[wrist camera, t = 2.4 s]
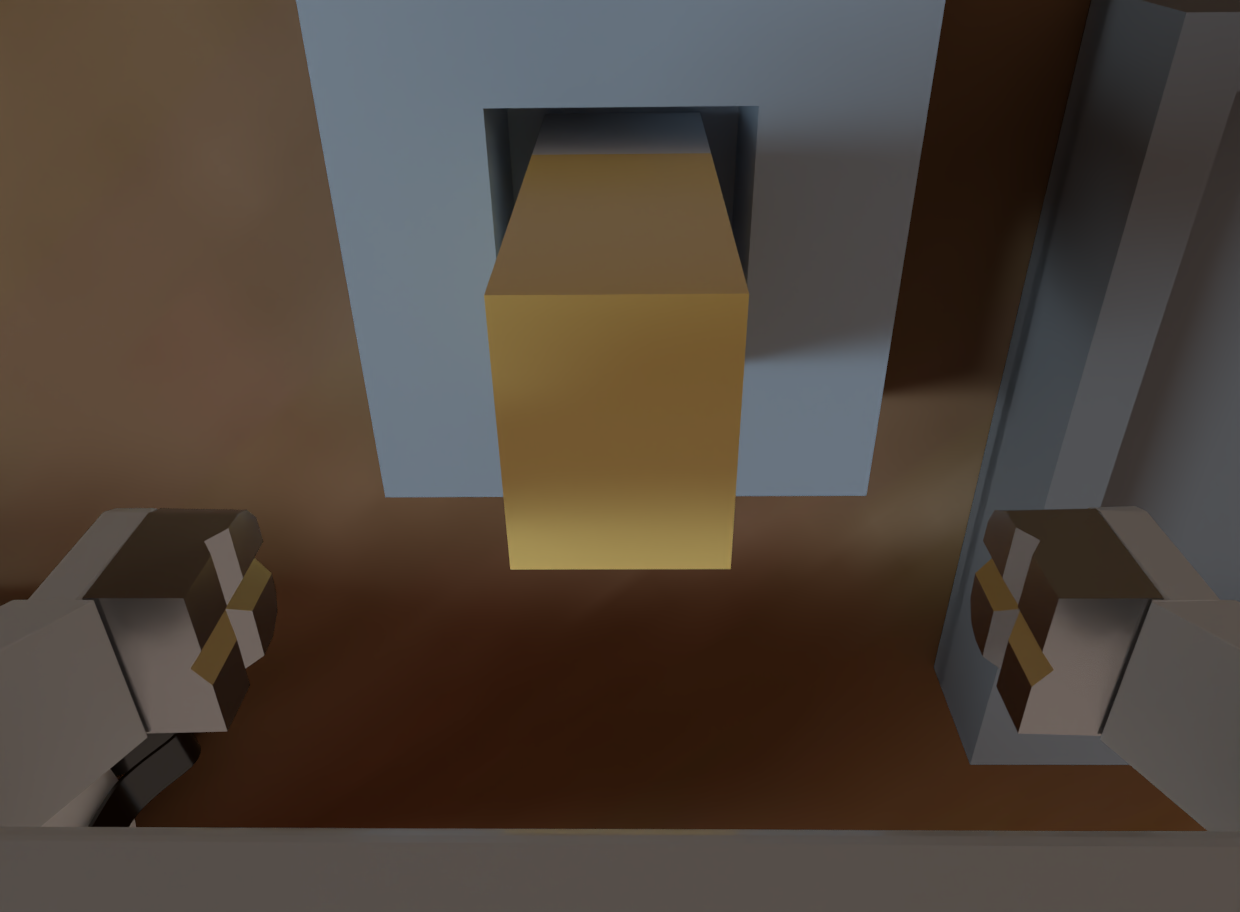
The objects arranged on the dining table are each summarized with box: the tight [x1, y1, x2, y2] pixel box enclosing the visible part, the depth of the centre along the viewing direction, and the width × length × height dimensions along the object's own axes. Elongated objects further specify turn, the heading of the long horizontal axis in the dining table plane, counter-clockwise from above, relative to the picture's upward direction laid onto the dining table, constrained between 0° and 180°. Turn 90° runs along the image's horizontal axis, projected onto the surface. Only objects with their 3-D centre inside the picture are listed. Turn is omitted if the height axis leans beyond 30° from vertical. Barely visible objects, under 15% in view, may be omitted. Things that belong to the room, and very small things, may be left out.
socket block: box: [296, 0, 945, 497], centre depth 18 cm, size 10×10×4 cm
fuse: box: [484, 112, 749, 570], centre depth 15 cm, size 4×3×9 cm
